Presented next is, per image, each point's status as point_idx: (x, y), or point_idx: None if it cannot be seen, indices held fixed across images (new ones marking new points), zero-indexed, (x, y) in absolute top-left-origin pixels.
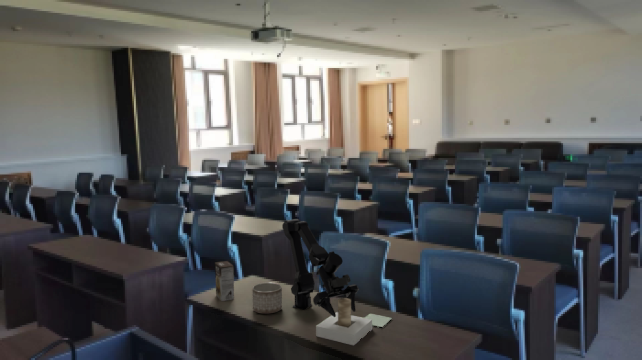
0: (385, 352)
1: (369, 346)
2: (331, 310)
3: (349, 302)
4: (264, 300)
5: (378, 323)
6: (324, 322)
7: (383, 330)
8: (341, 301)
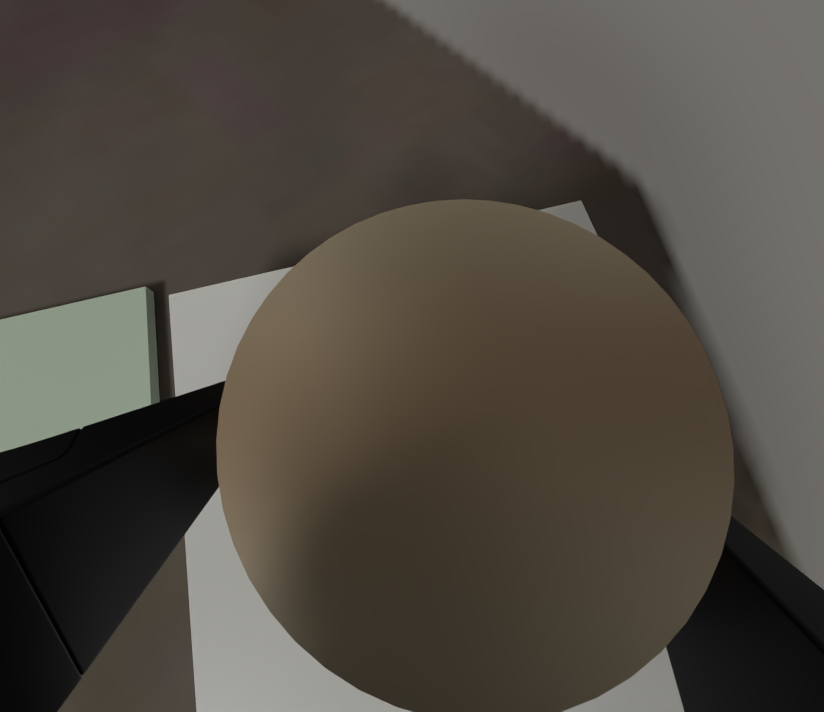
0: (463, 81)
1: (473, 180)
2: (785, 569)
3: (448, 214)
4: None
5: (97, 348)
6: (630, 680)
7: (184, 264)
8: (637, 415)
